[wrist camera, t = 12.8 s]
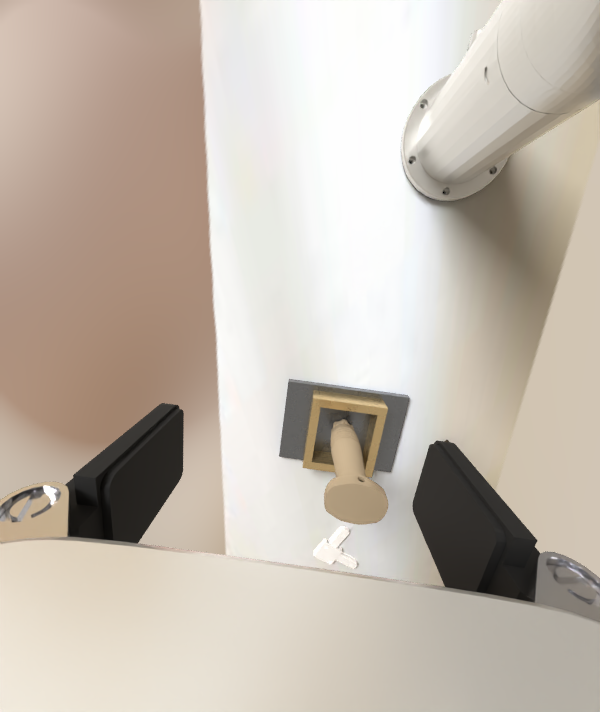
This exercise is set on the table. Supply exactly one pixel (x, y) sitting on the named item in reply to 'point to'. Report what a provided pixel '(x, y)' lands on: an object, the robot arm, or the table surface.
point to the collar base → (333, 403)
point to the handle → (352, 481)
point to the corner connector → (335, 549)
